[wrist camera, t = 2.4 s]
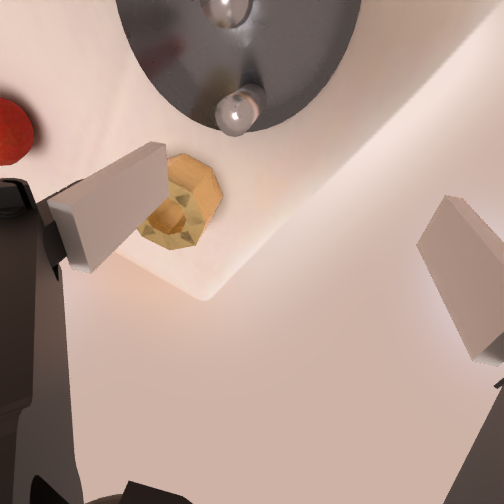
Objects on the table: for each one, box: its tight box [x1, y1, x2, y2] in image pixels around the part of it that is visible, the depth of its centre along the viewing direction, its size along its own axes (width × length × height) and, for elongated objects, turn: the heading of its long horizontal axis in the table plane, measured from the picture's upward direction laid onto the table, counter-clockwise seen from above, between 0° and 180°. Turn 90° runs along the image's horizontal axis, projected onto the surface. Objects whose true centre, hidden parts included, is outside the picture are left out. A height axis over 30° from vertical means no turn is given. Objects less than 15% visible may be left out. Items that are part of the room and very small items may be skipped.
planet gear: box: [137, 154, 223, 250], centre depth 35 cm, size 9×9×7 cm
